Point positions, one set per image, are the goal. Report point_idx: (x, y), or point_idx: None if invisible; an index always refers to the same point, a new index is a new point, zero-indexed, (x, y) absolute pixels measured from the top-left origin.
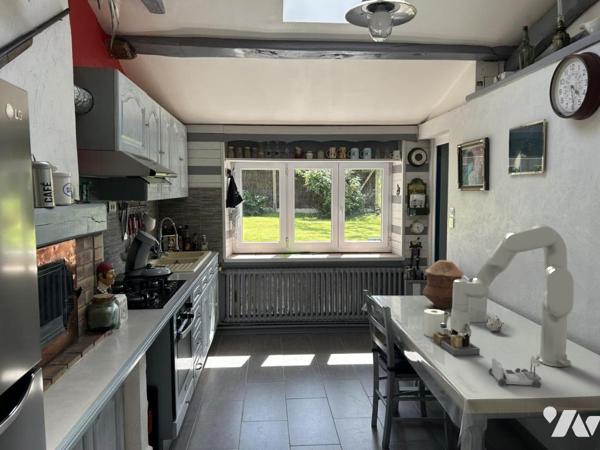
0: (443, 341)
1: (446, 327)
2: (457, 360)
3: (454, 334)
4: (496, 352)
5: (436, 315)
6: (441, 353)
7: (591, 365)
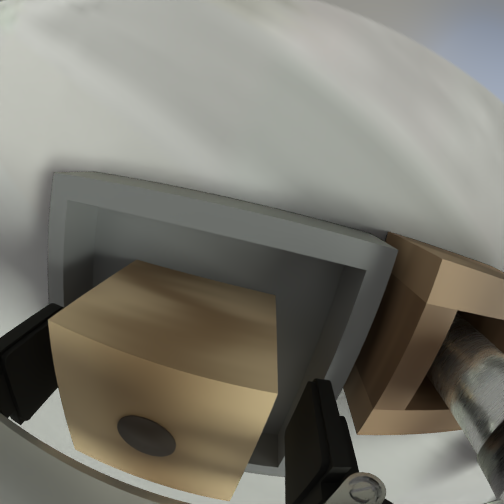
0: (358, 257)
1: (479, 458)
2: (33, 146)
3: (303, 452)
4: None
5: None
6: (198, 98)
7: None
